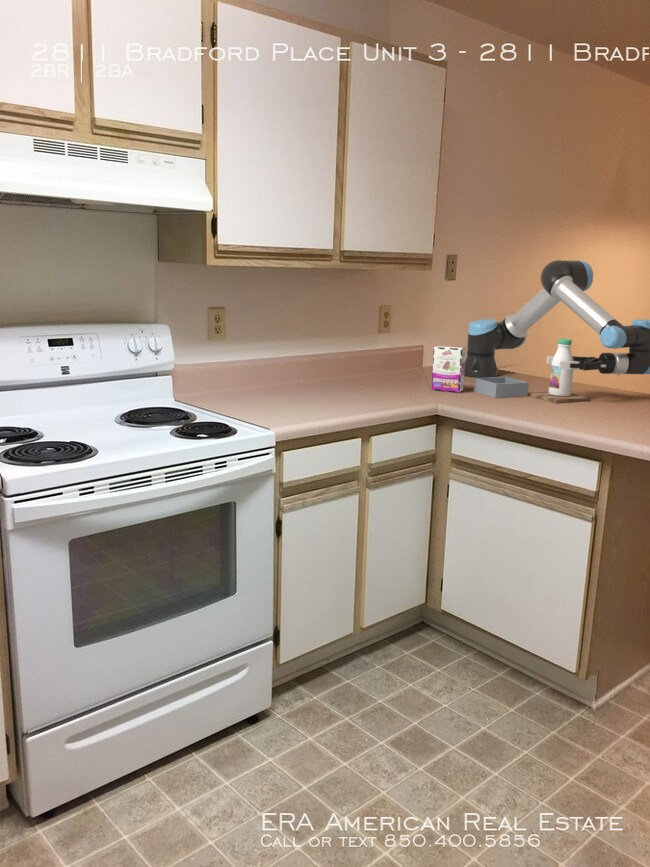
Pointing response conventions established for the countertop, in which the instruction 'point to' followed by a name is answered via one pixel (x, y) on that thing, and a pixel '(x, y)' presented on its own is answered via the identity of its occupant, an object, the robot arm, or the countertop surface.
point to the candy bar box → (448, 369)
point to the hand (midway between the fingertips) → (553, 362)
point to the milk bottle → (561, 370)
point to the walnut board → (559, 397)
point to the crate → (501, 387)
